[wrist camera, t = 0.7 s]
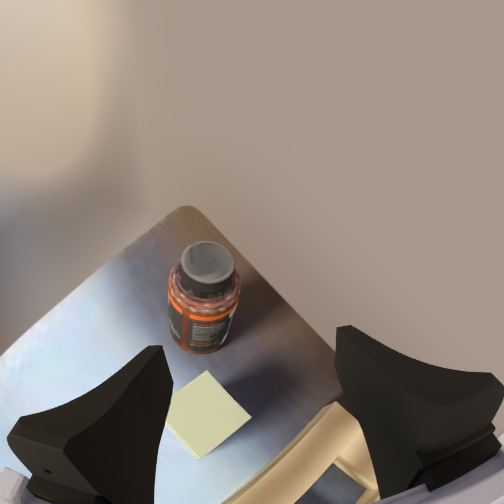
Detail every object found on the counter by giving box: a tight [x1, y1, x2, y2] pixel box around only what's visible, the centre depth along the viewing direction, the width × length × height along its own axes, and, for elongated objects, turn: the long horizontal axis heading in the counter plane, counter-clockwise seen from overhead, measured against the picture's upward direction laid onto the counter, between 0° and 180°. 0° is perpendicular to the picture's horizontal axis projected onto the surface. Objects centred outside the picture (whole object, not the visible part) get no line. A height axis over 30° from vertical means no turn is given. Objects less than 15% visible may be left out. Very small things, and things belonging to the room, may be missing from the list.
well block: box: [221, 401, 380, 504], centre depth 19 cm, size 14×14×3 cm
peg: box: [165, 370, 251, 459], centre depth 20 cm, size 4×4×8 cm
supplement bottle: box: [168, 241, 241, 354], centre depth 25 cm, size 6×6×11 cm
